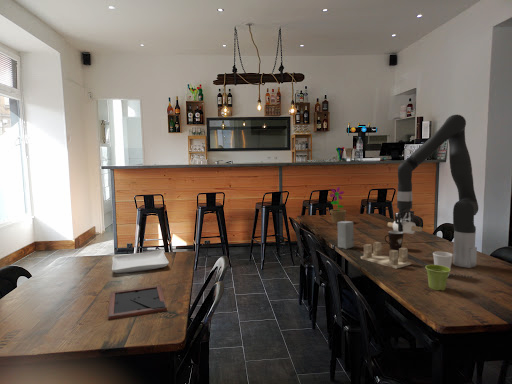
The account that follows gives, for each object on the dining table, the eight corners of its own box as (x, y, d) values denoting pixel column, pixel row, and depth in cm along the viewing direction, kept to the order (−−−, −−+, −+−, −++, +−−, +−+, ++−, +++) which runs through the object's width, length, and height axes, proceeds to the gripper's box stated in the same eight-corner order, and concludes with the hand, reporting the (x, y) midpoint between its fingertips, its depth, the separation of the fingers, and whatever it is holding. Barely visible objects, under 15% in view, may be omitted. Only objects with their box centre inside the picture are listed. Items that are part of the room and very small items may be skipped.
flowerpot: (343, 220, 310) (344, 186, 307) (349, 223, 295) (349, 187, 293) (327, 221, 309) (327, 186, 306) (332, 224, 294) (332, 188, 292)
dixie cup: (452, 278, 160) (453, 257, 159) (431, 276, 164) (432, 254, 163) (452, 273, 167) (453, 252, 166) (432, 271, 171) (433, 250, 170)
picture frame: (167, 312, 131) (160, 289, 155) (166, 306, 131) (160, 284, 154) (108, 321, 124) (110, 295, 148) (108, 315, 124) (110, 291, 148)
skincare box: (346, 249, 214) (346, 223, 213) (336, 247, 220) (336, 221, 218) (354, 246, 219) (354, 221, 218) (344, 244, 225) (345, 220, 223)
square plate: (163, 256, 206) (162, 249, 206) (169, 270, 181) (169, 262, 180) (112, 262, 196) (112, 255, 196) (112, 277, 171) (111, 269, 171)
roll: (423, 234, 186) (424, 223, 185) (417, 235, 182) (417, 224, 182) (392, 229, 201) (392, 218, 201) (385, 230, 198) (385, 219, 198)
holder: (410, 264, 182) (411, 249, 181) (396, 268, 176) (396, 252, 175) (375, 255, 200) (375, 241, 200) (360, 258, 194) (360, 244, 193)
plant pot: (452, 287, 149) (453, 267, 149) (446, 294, 142) (447, 273, 142) (428, 282, 156) (429, 263, 155) (421, 288, 149) (422, 268, 148)
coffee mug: (400, 247, 218) (401, 230, 217) (405, 250, 209) (405, 233, 208) (381, 246, 219) (381, 230, 218) (384, 250, 210) (385, 233, 209)
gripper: (402, 201, 183) (402, 233, 185) (419, 199, 191) (418, 230, 193) (390, 200, 190) (389, 231, 191) (406, 198, 197) (406, 228, 199)
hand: (404, 230), depth 192 cm, fingers closed on roll, 6 cm apart
